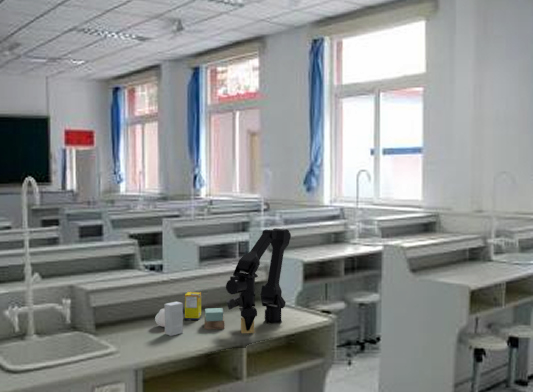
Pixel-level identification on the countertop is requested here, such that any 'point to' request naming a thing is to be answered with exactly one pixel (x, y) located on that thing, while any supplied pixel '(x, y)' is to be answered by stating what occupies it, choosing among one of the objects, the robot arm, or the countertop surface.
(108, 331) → the countertop surface
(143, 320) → the countertop surface
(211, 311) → the tower top
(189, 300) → the supplement box
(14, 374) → the countertop surface
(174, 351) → the countertop surface
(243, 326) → the ochre block
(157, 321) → the motion sensor
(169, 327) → the skincare box
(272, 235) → the robot arm
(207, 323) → the tower base
